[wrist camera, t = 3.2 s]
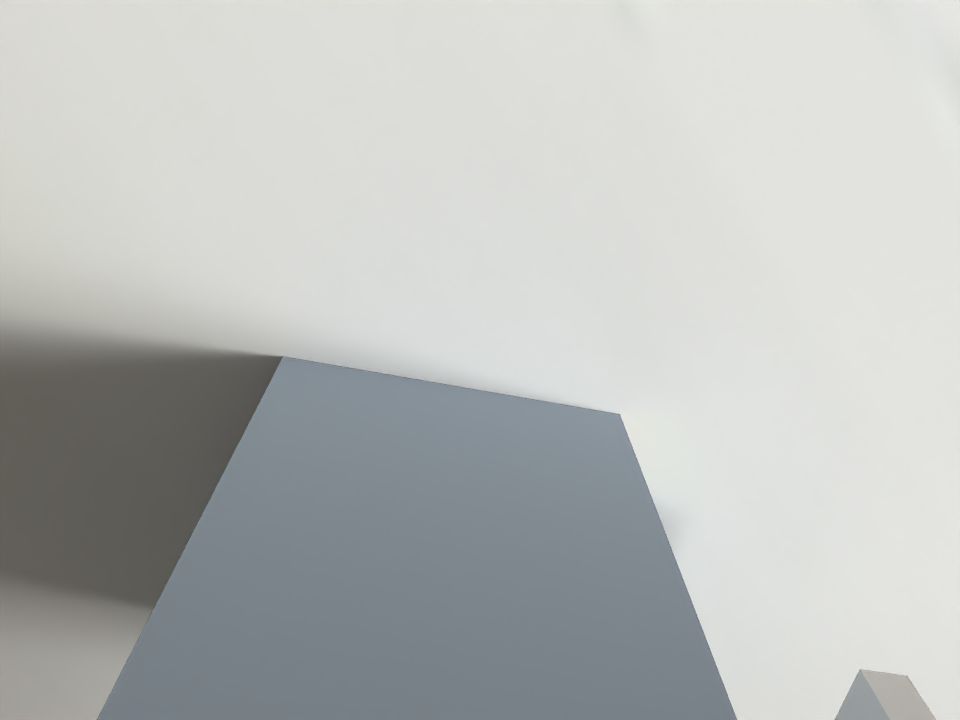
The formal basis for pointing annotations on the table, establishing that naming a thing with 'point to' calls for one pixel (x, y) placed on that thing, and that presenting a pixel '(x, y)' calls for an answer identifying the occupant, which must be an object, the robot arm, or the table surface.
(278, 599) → the slate block
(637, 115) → the table surface
